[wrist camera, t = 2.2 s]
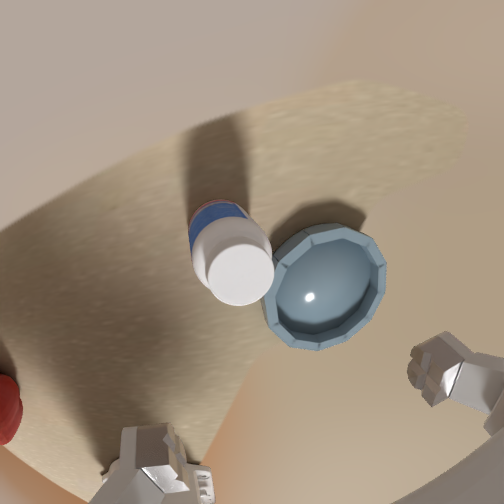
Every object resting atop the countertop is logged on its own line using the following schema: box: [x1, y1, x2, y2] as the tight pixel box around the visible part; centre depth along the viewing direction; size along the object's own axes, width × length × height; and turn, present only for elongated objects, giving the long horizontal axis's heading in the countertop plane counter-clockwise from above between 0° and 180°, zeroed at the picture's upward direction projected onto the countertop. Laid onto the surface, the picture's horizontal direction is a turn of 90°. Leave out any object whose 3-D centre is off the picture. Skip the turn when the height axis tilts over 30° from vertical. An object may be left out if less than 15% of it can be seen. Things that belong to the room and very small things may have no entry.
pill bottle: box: [188, 199, 274, 306], centre depth 22 cm, size 6×5×10 cm
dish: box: [261, 223, 386, 351], centre depth 30 cm, size 13×13×2 cm
